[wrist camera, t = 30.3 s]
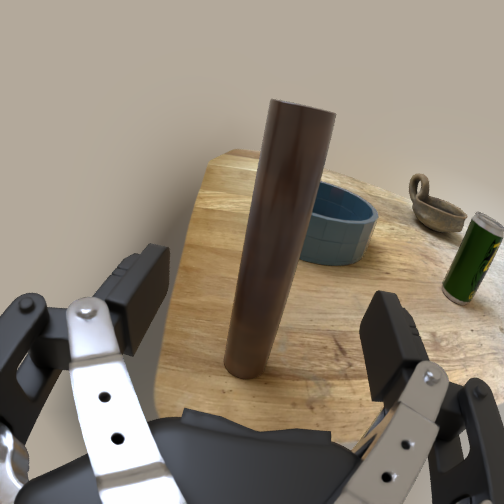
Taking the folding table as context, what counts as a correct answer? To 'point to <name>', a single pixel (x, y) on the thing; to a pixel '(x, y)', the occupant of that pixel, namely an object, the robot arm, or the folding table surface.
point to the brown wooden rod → (276, 229)
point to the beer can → (473, 258)
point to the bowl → (434, 208)
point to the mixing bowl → (338, 227)
